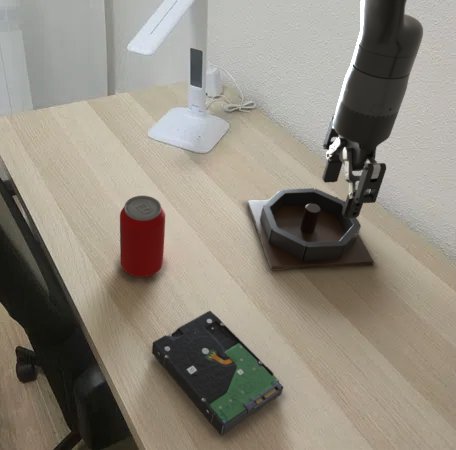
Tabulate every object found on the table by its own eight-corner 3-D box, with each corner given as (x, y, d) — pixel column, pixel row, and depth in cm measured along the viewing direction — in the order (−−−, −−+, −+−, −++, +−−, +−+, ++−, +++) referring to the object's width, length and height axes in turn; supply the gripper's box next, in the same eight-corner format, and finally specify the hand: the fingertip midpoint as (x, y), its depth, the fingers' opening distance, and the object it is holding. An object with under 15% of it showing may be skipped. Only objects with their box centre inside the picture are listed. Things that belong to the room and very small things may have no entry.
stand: (336, 200, 102) (344, 176, 99) (372, 265, 90) (382, 240, 86) (247, 203, 101) (251, 179, 97) (270, 270, 88) (276, 244, 84)
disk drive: (150, 355, 75) (222, 439, 66) (150, 342, 73) (224, 427, 64) (208, 321, 80) (282, 395, 71) (209, 308, 78) (286, 382, 69)
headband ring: (334, 200, 101) (338, 187, 99) (366, 257, 90) (371, 244, 88) (253, 203, 100) (256, 190, 98) (275, 262, 88) (279, 248, 86)
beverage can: (144, 245, 92) (146, 187, 84) (171, 267, 88) (175, 209, 80) (112, 262, 88) (110, 203, 80) (138, 287, 84) (139, 228, 76)
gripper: (423, 127, 66) (382, 229, 77) (376, 73, 76) (346, 169, 87) (363, 129, 65) (330, 231, 76) (324, 74, 76) (300, 170, 86)
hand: (338, 198), depth 81 cm, fingers open, 8 cm apart
